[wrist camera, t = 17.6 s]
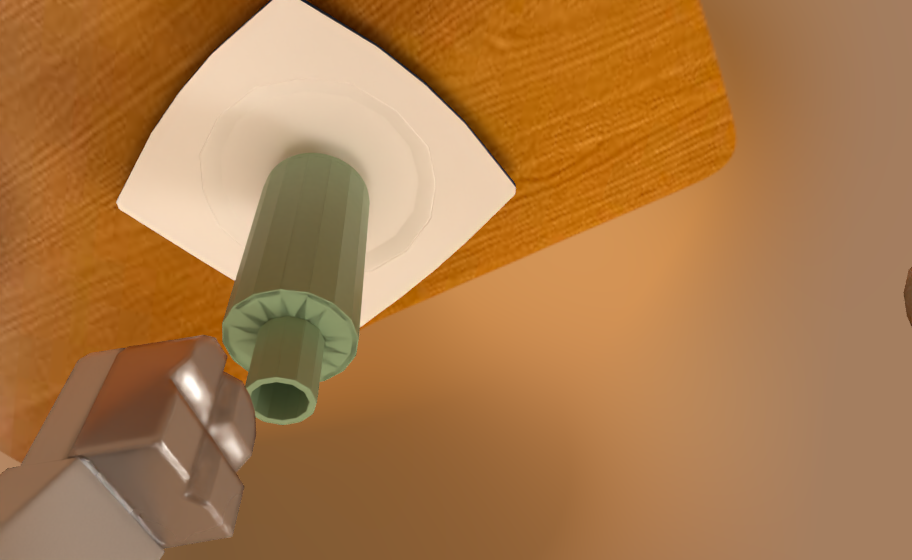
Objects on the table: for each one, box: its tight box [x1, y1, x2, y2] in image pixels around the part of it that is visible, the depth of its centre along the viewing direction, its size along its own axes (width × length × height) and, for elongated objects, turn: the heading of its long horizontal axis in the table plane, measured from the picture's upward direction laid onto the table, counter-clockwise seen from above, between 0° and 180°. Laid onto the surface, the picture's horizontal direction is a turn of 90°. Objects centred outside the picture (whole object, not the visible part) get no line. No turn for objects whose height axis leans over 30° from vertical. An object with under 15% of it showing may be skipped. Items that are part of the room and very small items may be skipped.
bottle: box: [222, 153, 370, 425], centre depth 38 cm, size 7×7×17 cm
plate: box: [116, 0, 516, 327], centre depth 46 cm, size 20×20×3 cm
